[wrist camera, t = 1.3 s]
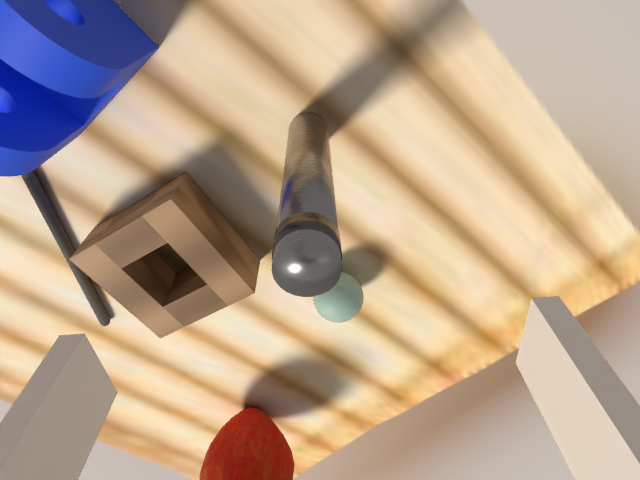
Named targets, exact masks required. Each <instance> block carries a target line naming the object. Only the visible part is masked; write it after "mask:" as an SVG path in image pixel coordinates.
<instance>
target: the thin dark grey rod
mask: <svg viewBox="0 0 640 480" xmlns="http://www.w3.org/2000/svg"><path fill="white" fill-rule="evenodd" d="M22 178H23V180H24V182H25V183H26V185H27V187H28V189H29V191H30V193H31V195H32V197H33V198H34V200H35V202H36V204H37V206H38V208H39V210H40V212H41V213H42V215H43V217H44V219H45V221H46V223H47V225H48V227H49V228H50V230H51V232H52V234H53V236H54V238H55V240H56V242H57V243H58V245H59V247H60V249H61V251H62V253H63V255H64V257H65V258H66V260H67V262H68V264H69V266H70V268H71V270H72V272H73V273H74V275H75V277H76V279H77V281H78V283H79V285H80V286H81V288H82V290H83V292H84V294H85V296H86V298H87V300H88V301H89V303H90V305H91V307H92V309H93V311H94V313H95V315H96V316H97V318H98V320H99V322H100V324H101V325H103V326H107V325H108V324H109V323H110V319H109V317H108V315H107V313H106V311H105V309H104V307H103V305H102V303H101V301H100V299H99V297H98V295H97V293H96V291H95V289H94V287H93V286H92V284H91V282H90V280H89V278H88V276H87V274H86V273H84V272H83V271H82V270H81V269H80V268H79V267H77V266H76V265H75V264H74V263H73V262H72V261H71V260H69V259H70V257H71V256H72V255H73V254H74V252H75V250H74V248H73V246H72V245H71V243H70V241H69V239H68V237H67V235H66V233H65V231H64V229H63V227H62V225H61V223H60V221H59V219H58V217H57V215H56V213H55V211H54V209H53V207H52V205H51V204H50V202H49V200H48V198H47V196H46V194H45V192H44V190H43V188H42V186H41V184H40V182H39V180H38V178H37V176H36V174H35V173H34V171H31V172H29V173H27V174H23V175H22Z"/></svg>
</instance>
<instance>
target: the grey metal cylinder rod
mask: <svg viewBox="0 0 640 480" xmlns="http://www.w3.org/2000/svg"><path fill="white" fill-rule="evenodd" d="M272 260H273V262H272V274H273V277H274V280H275V281H276V283H277V284H278V285H279V286H280V287H281V288H282V289H283V290H285V291H286V292H288V293H291V294H293V295H297V296H302V297H312V296H317V295H321V294H323V293H326V292H327V291H329V290H331V289H332V288H333V287H334V286H335V285H336V284H337V282H338V281H339V279H340V277H341V273H342V264H341V260H342V251H341V242H340V234H339V231H338V225H337V215H336V205H335V195H334V185H333V175H332V166H331V156H330V146H329V136H328V127H327V124H326V122H325V121H324V120H323V118H322V117H320V116H319V115H317V114H315V113H310V112H307V113H302V114H300V115H298V116H296V117H295V118H294V119H293V120H292V122H291V124H290V127H289V134H288V142H287V150H286V158H285V166H284V174H283V182H282V190H281V198H280V206H279V214H278V222H277V229H276V232H275V236H274V244H273V252H272Z"/></svg>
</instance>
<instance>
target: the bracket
mask: <svg viewBox="0 0 640 480" xmlns="http://www.w3.org/2000/svg"><path fill="white" fill-rule="evenodd" d="M158 48H159V47H158V46H157V45H156V44H155V43H154V42H153V41H152V40H151V39H150V38H149V37H148V36H147V35H146V34H145V33H144V32H143V31H142V30H141V29H140V28H139V27H138V26H137V25H136V24H135V23H134V22H133V21H132V20H131V18H130V17H129V16H128V15H127V14H126V13H125V12H124V11H123V10H122V9H121V8H120V7H119V6H118V5H117V4H116V3H115V2H114V1H113V0H0V176H18V175H23V174H27V173H29V172H31V171H33V170H35V169H36V168H37V167H39V166H40V165H41V164H43V163H44V162H45V161H46V160H48V159H49V158H50V157H52V156H53V155H54V154H56V153H57V152H58V151H59V150H61V149H62V148H63V147H65V146H66V145H67V144H69V143H70V142H71V141H72V140H74V139H75V138H76V137H78V136H79V135H80V134H81V133H82V132H83V131H84V130H85V129H86V127H87V126H88V125H89V124H90V123H91V122H92V121H93V120H94V119H95V118H96V116H97V115H98V114H99V113H100V112H101V111H102V110H103V109H104V108H105V107H106V105H107V104H108V103H109V102H110V101H111V100H112V99H113V98H114V97H115V96H116V94H117V93H118V92H119V91H120V90H121V89H122V88H123V87H124V86H125V85H126V83H127V82H128V81H129V80H130V79H131V78H132V77H133V76H134V75H135V74H136V72H137V71H138V70H139V69H140V68H141V67H142V66H143V65H144V64H145V63H146V61H147V60H148V59H149V58H150V57H151V56H152V55H153V54H154V53H155V51H156V50H157V49H158Z"/></svg>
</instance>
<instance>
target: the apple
mask: <svg viewBox="0 0 640 480" xmlns="http://www.w3.org/2000/svg"><path fill="white" fill-rule="evenodd" d="M293 472H294V461H293V456H292V452H291V449H290V447H289V445H288V443H287V441H286V439H285V437H284V435H283V434H282V433H281V431H280V430H279V429H278V427H277V426H276V425H275V424H274V422H273V421H272V420H271V418H270V417H269V416H268V415H267V414H266V413H265V412H263V411H262V410H260V409H257V408H251V407H249V408H247V409H244V410H242V411H241V412H239V413H238V414H236V415H235V416H234V417H232V418H231V419H230V420H229V421H228V422H227V423H226V424H225V425H224V426H223V427H222V428H221V430H220V431H219V433H218V434H217V435H216V437H215V438H214V440H213V441H212V443H211V444H210V446H209V449H208V451H207V453H206V456H205V459H204V462H203V465H202V468H201V472H200V480H293Z"/></svg>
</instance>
